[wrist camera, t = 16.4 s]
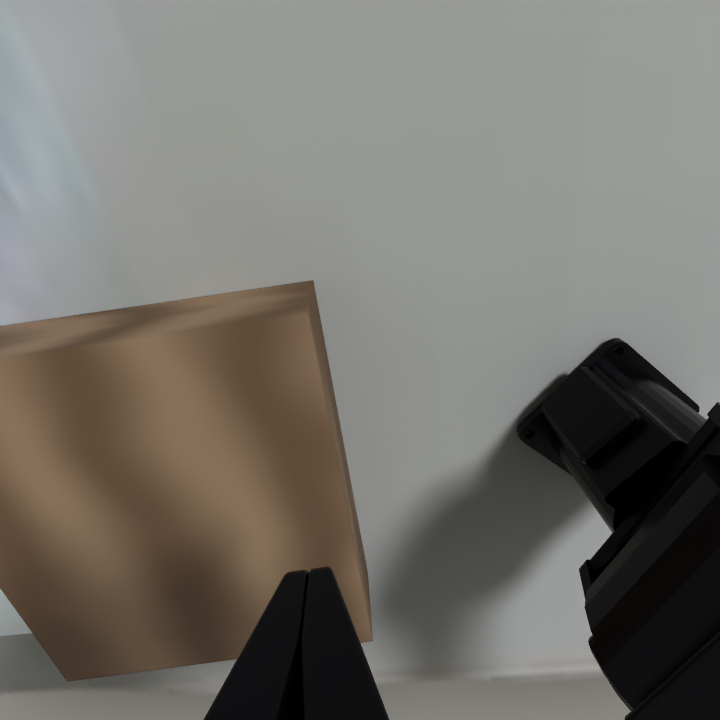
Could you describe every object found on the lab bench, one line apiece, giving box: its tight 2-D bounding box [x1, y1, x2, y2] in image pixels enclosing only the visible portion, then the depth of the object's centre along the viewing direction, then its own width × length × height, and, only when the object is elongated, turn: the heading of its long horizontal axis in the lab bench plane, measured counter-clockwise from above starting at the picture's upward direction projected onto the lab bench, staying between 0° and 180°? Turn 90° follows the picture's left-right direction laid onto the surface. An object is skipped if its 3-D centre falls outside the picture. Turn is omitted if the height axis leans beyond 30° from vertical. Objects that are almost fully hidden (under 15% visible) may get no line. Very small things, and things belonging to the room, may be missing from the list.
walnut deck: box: [0, 281, 373, 681], centre depth 21 cm, size 16×18×4 cm
